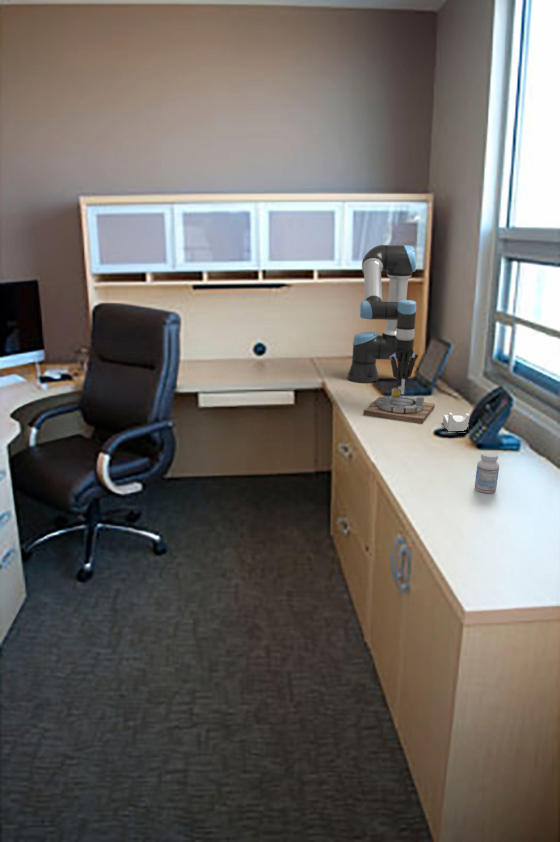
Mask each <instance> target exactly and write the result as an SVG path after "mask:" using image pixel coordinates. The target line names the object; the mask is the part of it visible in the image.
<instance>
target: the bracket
mask: <svg viewBox="0 0 560 842" xmlns="http://www.w3.org/2000/svg"><path fill="white" fill-rule="evenodd" d="M469 422H470V414H469V413H466V412H465V414H464V416H463V415H459V414H458V415H453V413H452V412H448V414H443V419H442V424H443V426H444V428H445V430H446V429H447V430H448V431H464V430H466V429H467V427H468V428H469V424H470V423H469ZM468 423H469V424H468ZM447 430H446V431H447Z"/></svg>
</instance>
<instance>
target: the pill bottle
mask: <svg viewBox="0 0 560 842" xmlns="http://www.w3.org/2000/svg"><path fill="white" fill-rule="evenodd" d="M480 453H481V454H480V459H479V460H478V461H477V463H476V464H477V466H476V473H475V480H474V489H475V490H476V491H478V492H480V493H484V494H492V493H495V492H496V491H497V486H498V480H499V479H498V478H499V470H500V463H499V462H498V459H499V458H498V457H499V454H497V453H496V452H493V451H488V450H487V451H486V450H485V451H482V452H480Z"/></svg>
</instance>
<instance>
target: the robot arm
mask: <svg viewBox="0 0 560 842" xmlns="http://www.w3.org/2000/svg"><path fill="white" fill-rule="evenodd" d="M416 256H417V255H416V250H415V248H414V246H411V245H404V244H399V245H398V244H397V245H396V244H395V245H394V244H386V245H385V244H380V245H376V246H374V247H372V248H371V249H369V251H367V253H365V255H364V257H363V259H362V262H361V270H362V273H363V278H364V280H363V282H364V283H363V284H364V285H363V288H364V290H363V291H364V301H363V300H362V301H360V304H359V305H360V307H359V317H360V318H361V319H365V320H382V321H383V320H384V321H385V320H386V323H385V328H384V329H383V330H382V333H381V334H382V335H379V334H378V332H377V331H365V332H364V331H363V332H360V333H357V334H355V335H354V336H353V342H352V359H351V366H350V368H349V371H348V373H347V380H348V381H351V382H355V383H363V384H365V383H367V384H369V383H374V382H373V380H377V379H378V380H379V372H378V369H377V360H390V364H391V369H392V370H391V371H392V376H393V377H394V378H396V386H397V389H399V390H400V395H405V387H406V386H407V380H408V379H409V378H411V377H412V373H413V370H414V367H415V364H416V360H417V359H418V357H419V354H417V353H415V352H414V350H413V349H414V344H415V342H414V341H415V339H414V338H415V330H416V328H415V326H416V317H417V301H415V300H412V299H407V295H408V286H409V285H408V284H409V279H410V278H411V277H412V276H413V273H414V272H416V269H417V257H416ZM383 271H384V272H386V276H387V277H388V278H389V284H388V296H387V297H388V298H387V301H383V290H382V289H383V288H382V272H383Z"/></svg>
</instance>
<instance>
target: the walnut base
mask: <svg viewBox="0 0 560 842" xmlns="http://www.w3.org/2000/svg"><path fill="white" fill-rule="evenodd" d="M380 397H381V396H378V398H380ZM378 398H376V399H375V400H374V401H373V402H372V403H370V404H369V405H368V406H367V407H366V408H364V410H363V416H368V417H372V418H374V417H375V418H378V419H379V418H380V419H387V420H394V421H401V422H402V421H403V422H409V423H417V424H424V423H425V422H426V420H427V419H428V417H429V416H430V415H431V413H432V412H433V411H434V409H435V406H436V404H435V403H433V402H425V401H424V409H423V410H422V411H419V412H415V413H397V412H393V411H392V412H390V411H386V410H382V409H380V408H379V407H377V400H378ZM391 405H396V406H412V405H413V401H412V400H409V399H405V398H392V402H391Z"/></svg>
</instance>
